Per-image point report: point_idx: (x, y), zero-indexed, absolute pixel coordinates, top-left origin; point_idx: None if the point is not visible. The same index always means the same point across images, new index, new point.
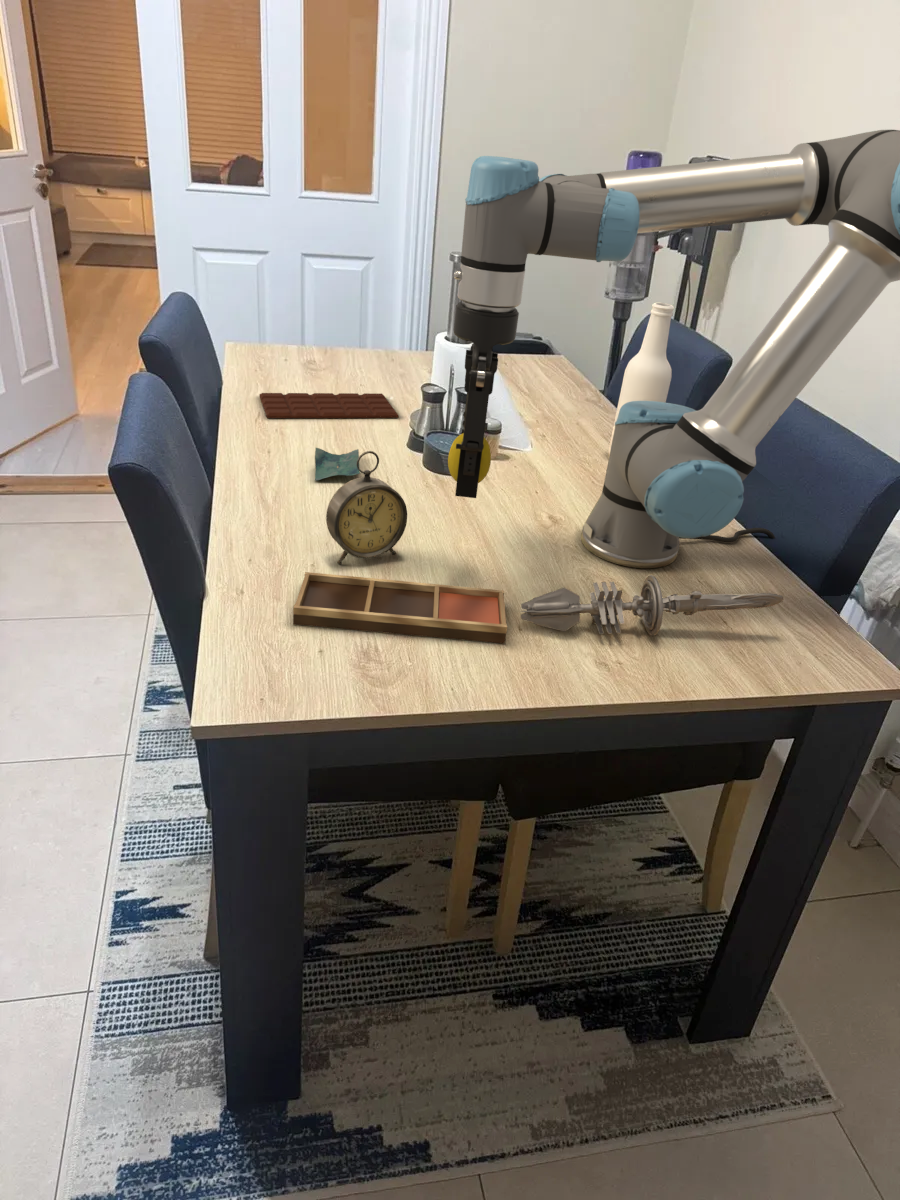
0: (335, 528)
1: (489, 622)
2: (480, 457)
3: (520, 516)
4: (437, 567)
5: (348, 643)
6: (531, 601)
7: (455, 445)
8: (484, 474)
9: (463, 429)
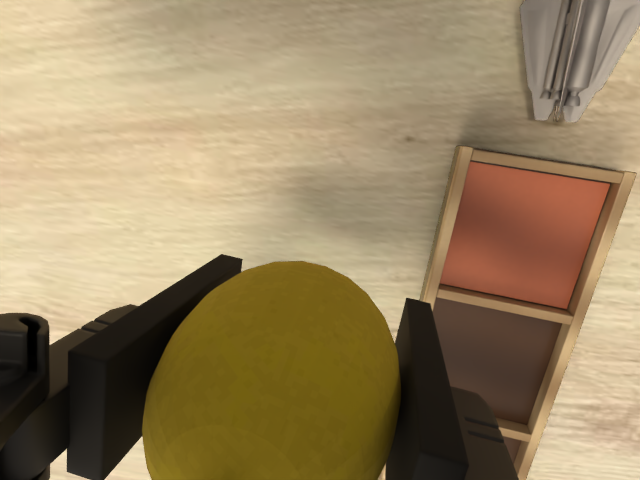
0: None
1: (578, 202)
2: (457, 427)
3: (39, 16)
4: (293, 251)
5: (564, 446)
6: (562, 93)
7: None
8: (369, 297)
9: (67, 464)
